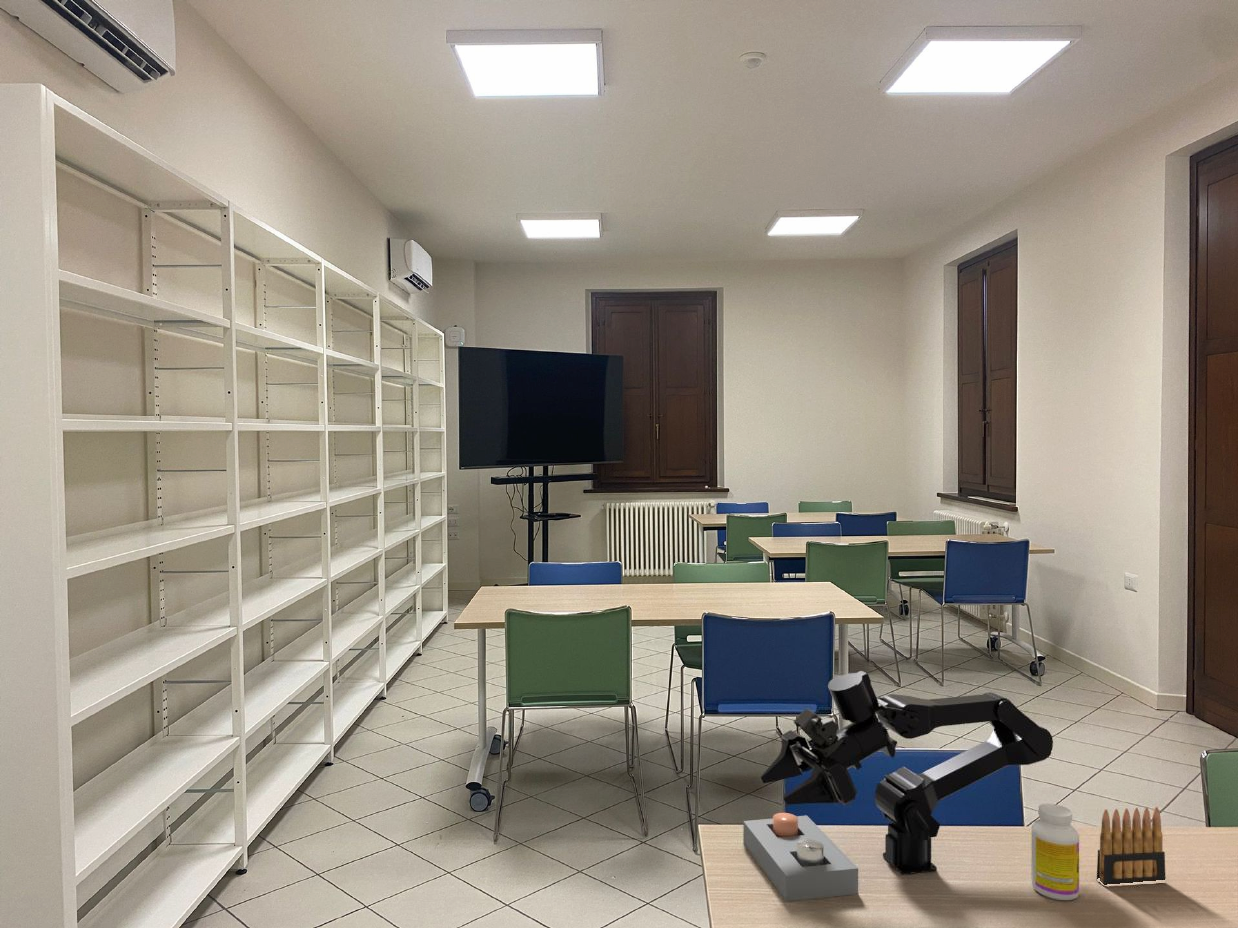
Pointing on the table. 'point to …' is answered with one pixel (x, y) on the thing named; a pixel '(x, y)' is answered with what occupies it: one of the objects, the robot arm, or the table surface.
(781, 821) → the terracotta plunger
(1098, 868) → the ammunition clip
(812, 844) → the steel plunger
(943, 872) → the table surface
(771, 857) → the panel
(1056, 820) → the supplement bottle
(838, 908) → the table surface
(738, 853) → the table surface
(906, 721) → the robot arm
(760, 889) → the table surface
